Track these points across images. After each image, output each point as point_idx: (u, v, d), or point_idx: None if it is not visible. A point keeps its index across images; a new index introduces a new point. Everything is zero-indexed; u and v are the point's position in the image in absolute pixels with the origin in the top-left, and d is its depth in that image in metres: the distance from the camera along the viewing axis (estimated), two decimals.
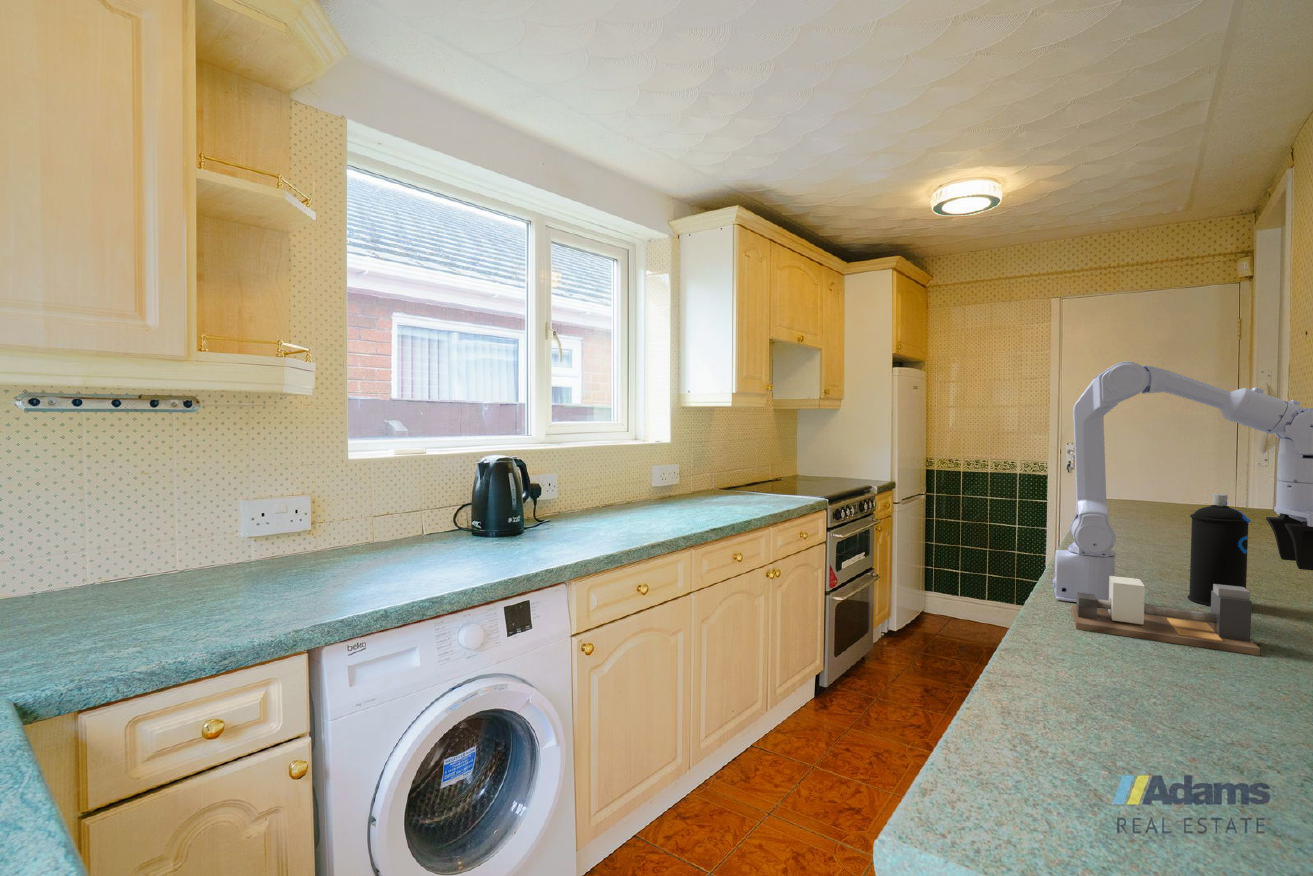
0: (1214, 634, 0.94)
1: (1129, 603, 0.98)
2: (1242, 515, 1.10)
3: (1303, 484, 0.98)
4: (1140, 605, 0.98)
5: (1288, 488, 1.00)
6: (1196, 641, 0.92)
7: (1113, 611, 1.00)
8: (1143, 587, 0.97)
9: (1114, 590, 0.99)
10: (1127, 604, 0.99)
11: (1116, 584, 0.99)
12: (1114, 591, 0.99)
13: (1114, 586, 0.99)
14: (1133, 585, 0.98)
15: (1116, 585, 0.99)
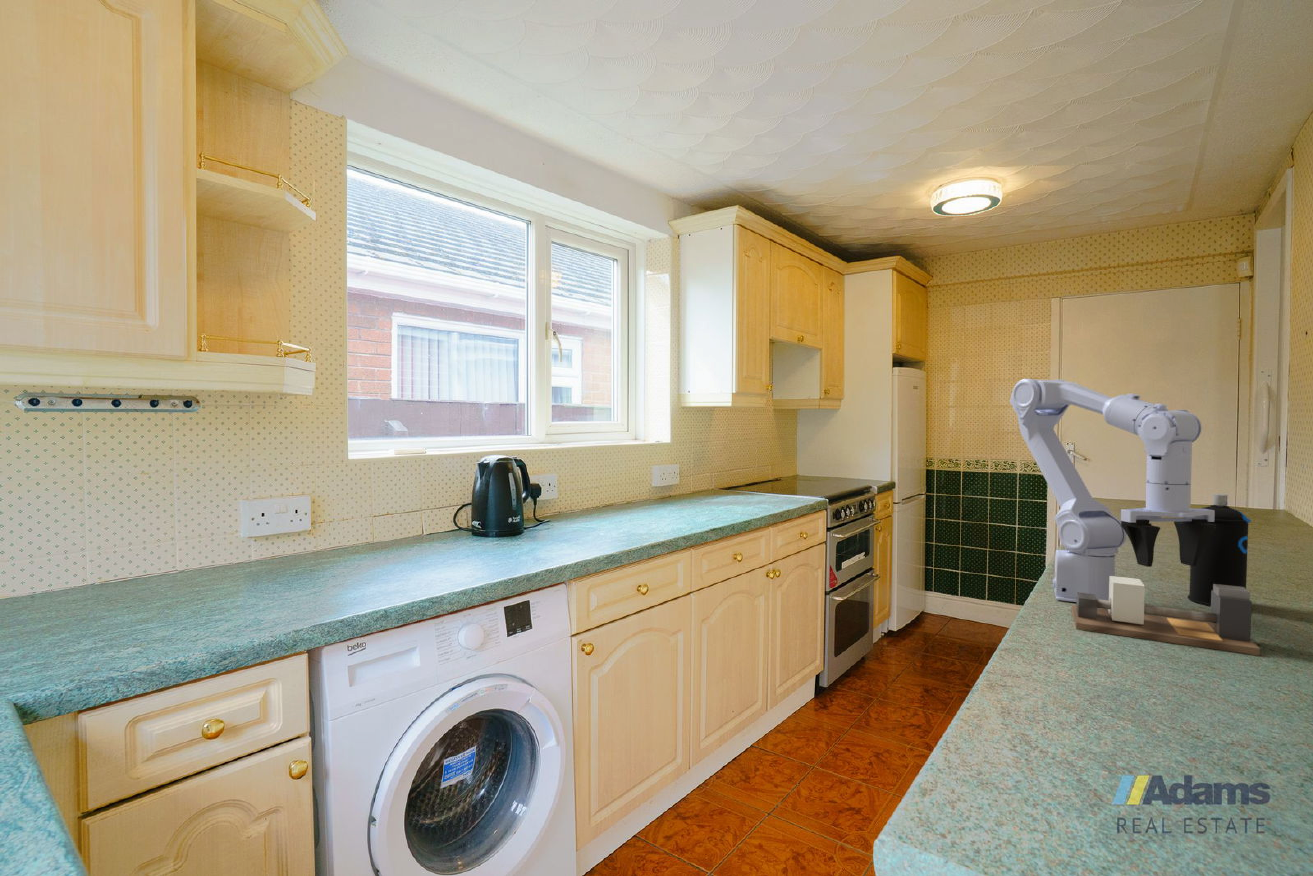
0: (1214, 634, 0.94)
1: (1129, 603, 0.98)
2: (1242, 515, 1.10)
3: (1149, 484, 1.02)
4: (1140, 605, 0.98)
5: (1146, 488, 1.04)
6: (1196, 641, 0.92)
7: (1113, 611, 1.00)
8: (1143, 587, 0.97)
9: (1114, 590, 0.99)
10: (1127, 604, 0.99)
11: (1116, 584, 0.99)
12: (1114, 591, 0.99)
13: (1114, 586, 0.99)
14: (1133, 585, 0.98)
15: (1116, 585, 0.99)
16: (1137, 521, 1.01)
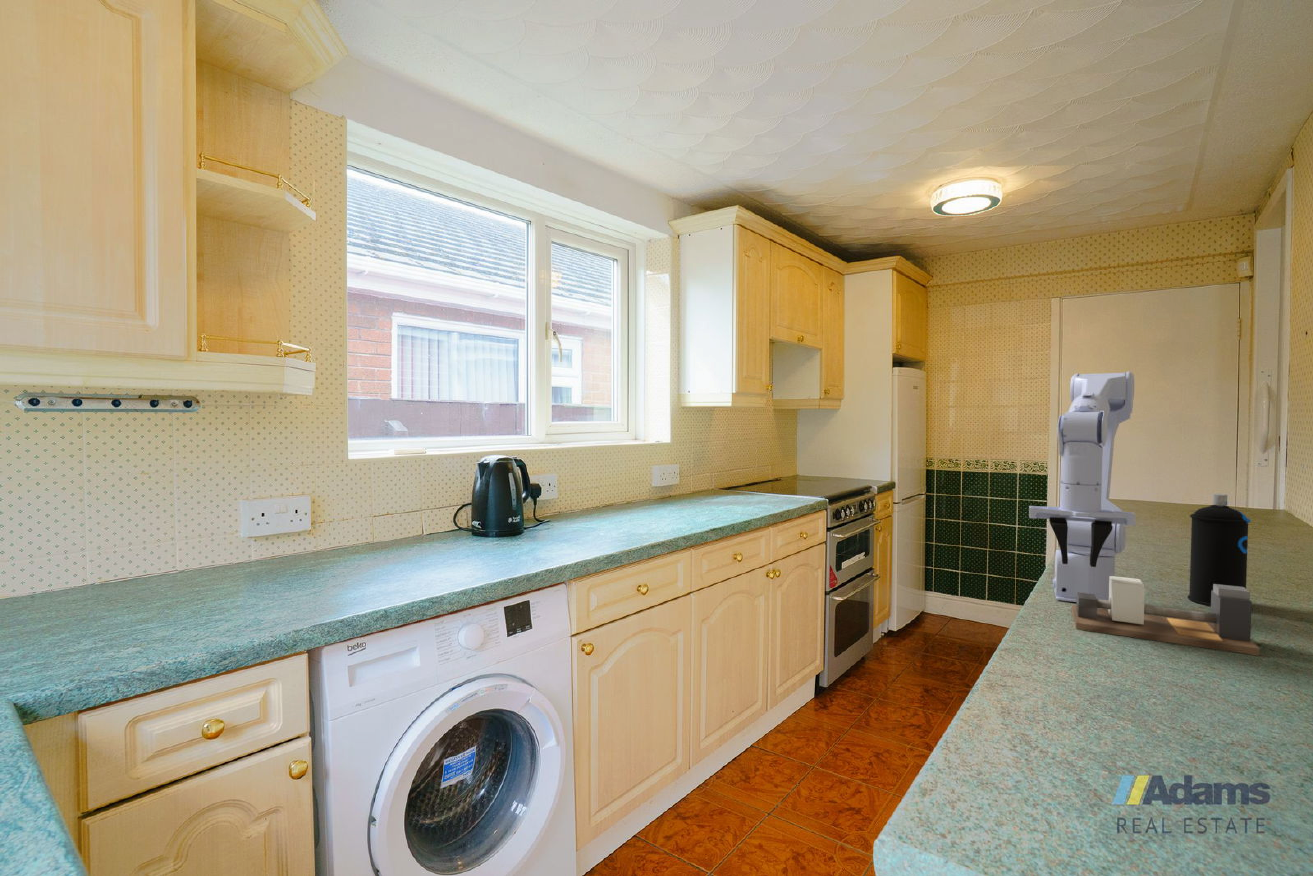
0: (1214, 634, 0.94)
1: (1129, 603, 0.98)
2: (1242, 515, 1.10)
3: None
4: (1140, 605, 0.98)
5: None
6: (1196, 641, 0.92)
7: (1113, 611, 1.00)
8: (1143, 587, 0.97)
9: (1114, 590, 0.99)
10: (1127, 604, 0.99)
11: (1116, 584, 0.99)
12: (1114, 591, 0.99)
13: (1114, 586, 0.99)
14: (1133, 585, 0.98)
15: (1116, 585, 0.99)
16: (1051, 518, 1.05)
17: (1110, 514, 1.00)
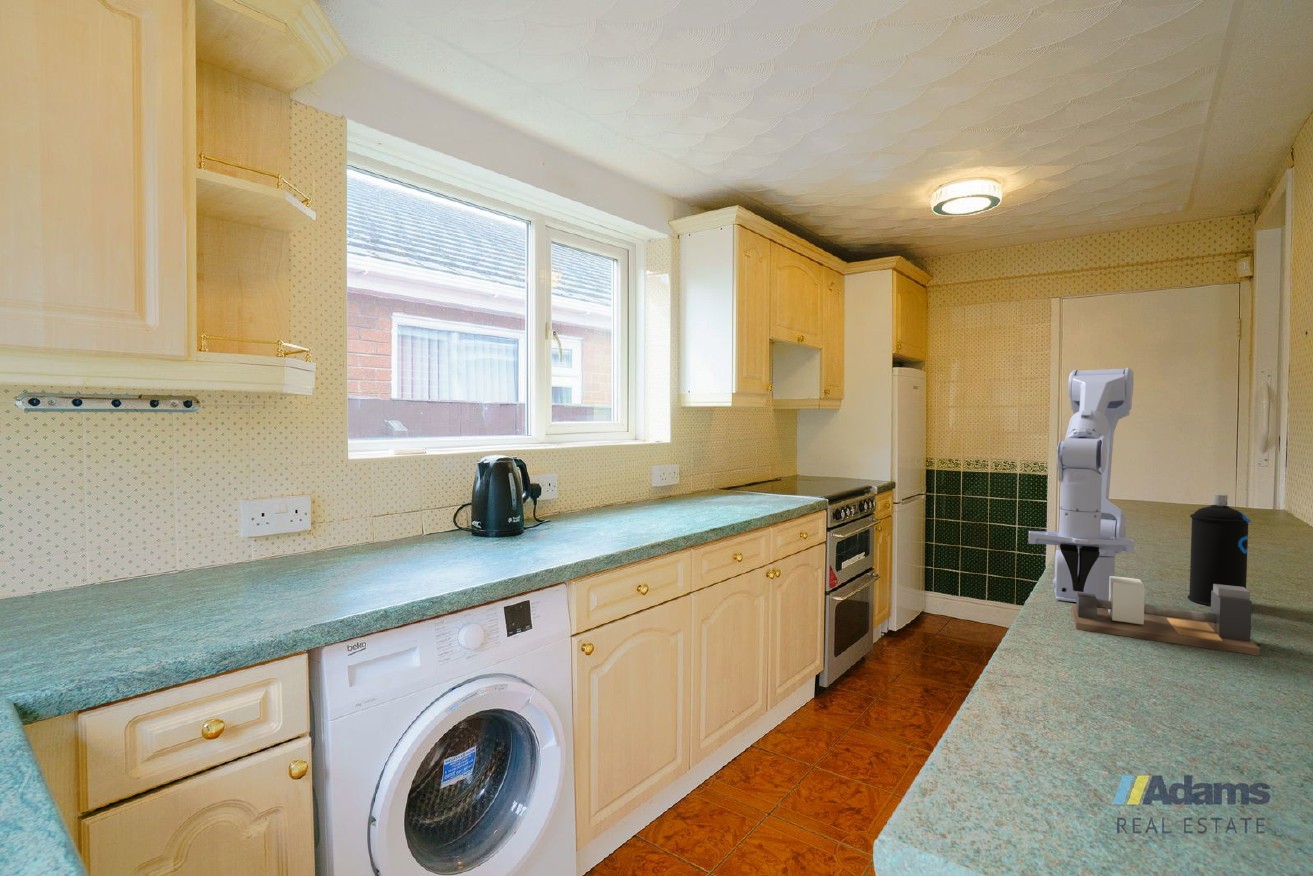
0: (1214, 634, 0.94)
1: (1129, 603, 0.98)
2: (1242, 515, 1.10)
3: (1060, 509, 1.05)
4: (1140, 605, 0.98)
5: None
6: (1196, 641, 0.92)
7: (1113, 611, 1.00)
8: (1143, 587, 0.97)
9: (1114, 590, 0.99)
10: (1127, 604, 0.99)
11: (1116, 584, 0.99)
12: (1114, 591, 0.99)
13: (1114, 586, 0.99)
14: (1133, 585, 0.98)
15: (1116, 585, 0.99)
16: (1062, 545, 1.04)
17: (1109, 541, 1.00)
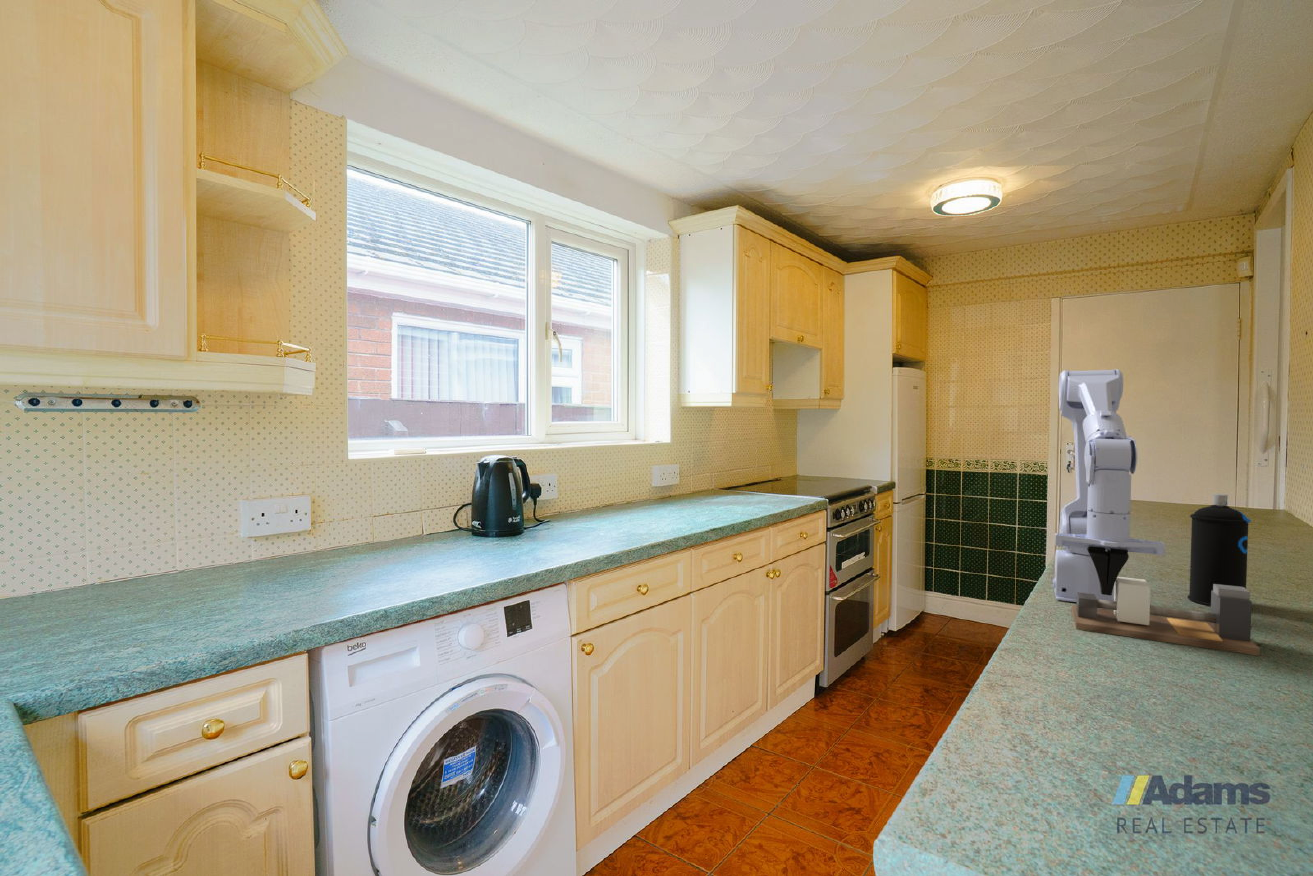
0: (1214, 634, 0.94)
1: (1134, 604, 0.98)
2: (1242, 515, 1.10)
3: (1087, 511, 1.03)
4: (1146, 606, 0.97)
5: None
6: (1196, 641, 0.92)
7: (1118, 612, 0.99)
8: (1149, 588, 0.97)
9: (1119, 591, 0.99)
10: (1132, 605, 0.98)
11: (1121, 585, 0.99)
12: (1119, 592, 0.99)
13: (1119, 587, 0.99)
14: (1138, 586, 0.98)
15: (1121, 586, 0.99)
16: (1090, 548, 1.02)
17: (1139, 544, 0.98)
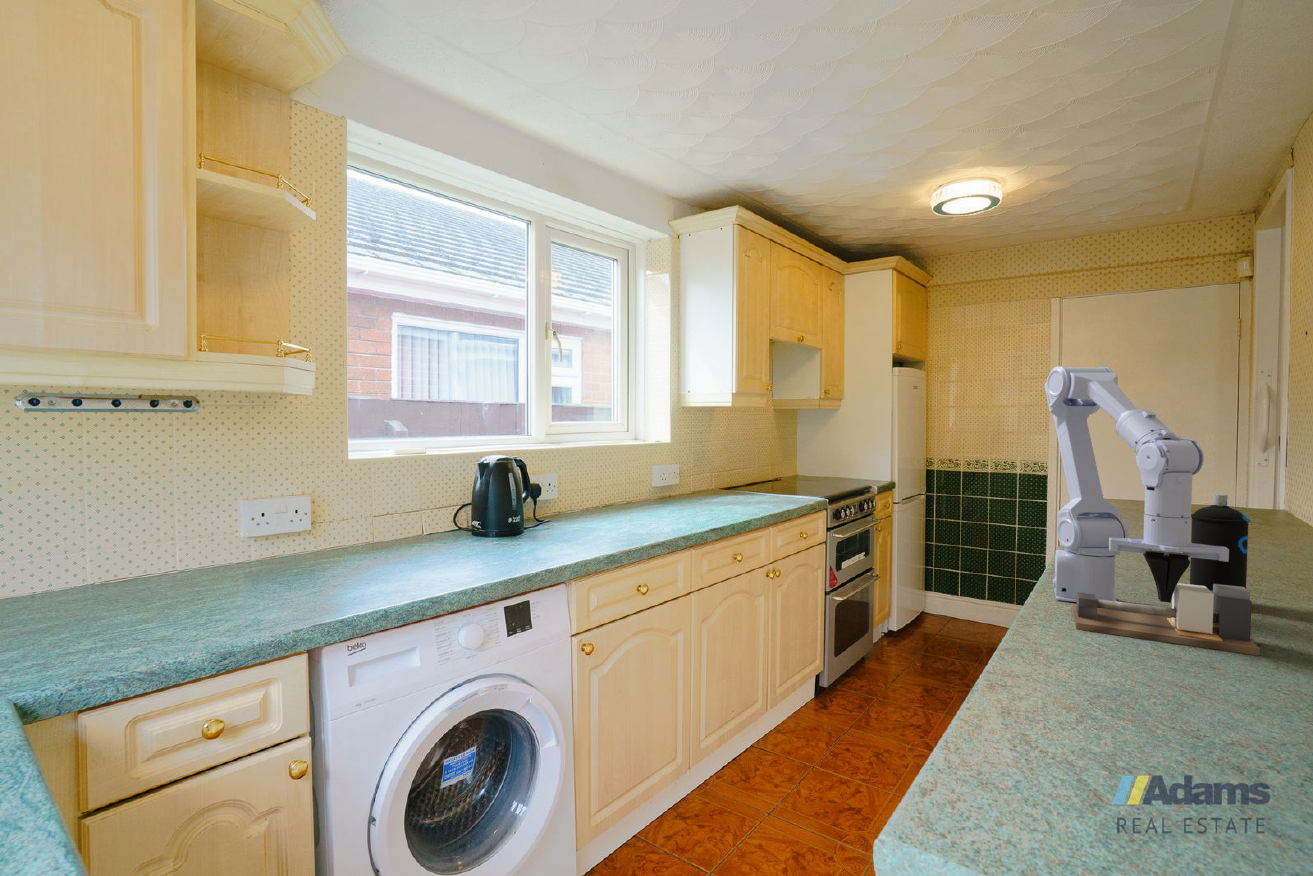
0: (1214, 634, 0.94)
1: (1196, 611, 0.94)
2: (1242, 515, 1.10)
3: (1144, 514, 1.00)
4: (1208, 614, 0.94)
5: None
6: (1196, 641, 0.92)
7: (1179, 620, 0.95)
8: (1212, 595, 0.93)
9: (1180, 598, 0.95)
10: (1194, 612, 0.94)
11: (1182, 591, 0.95)
12: (1180, 599, 0.95)
13: (1180, 594, 0.95)
14: (1201, 593, 0.94)
15: (1182, 593, 0.95)
16: (1147, 553, 0.98)
17: (1201, 549, 0.94)
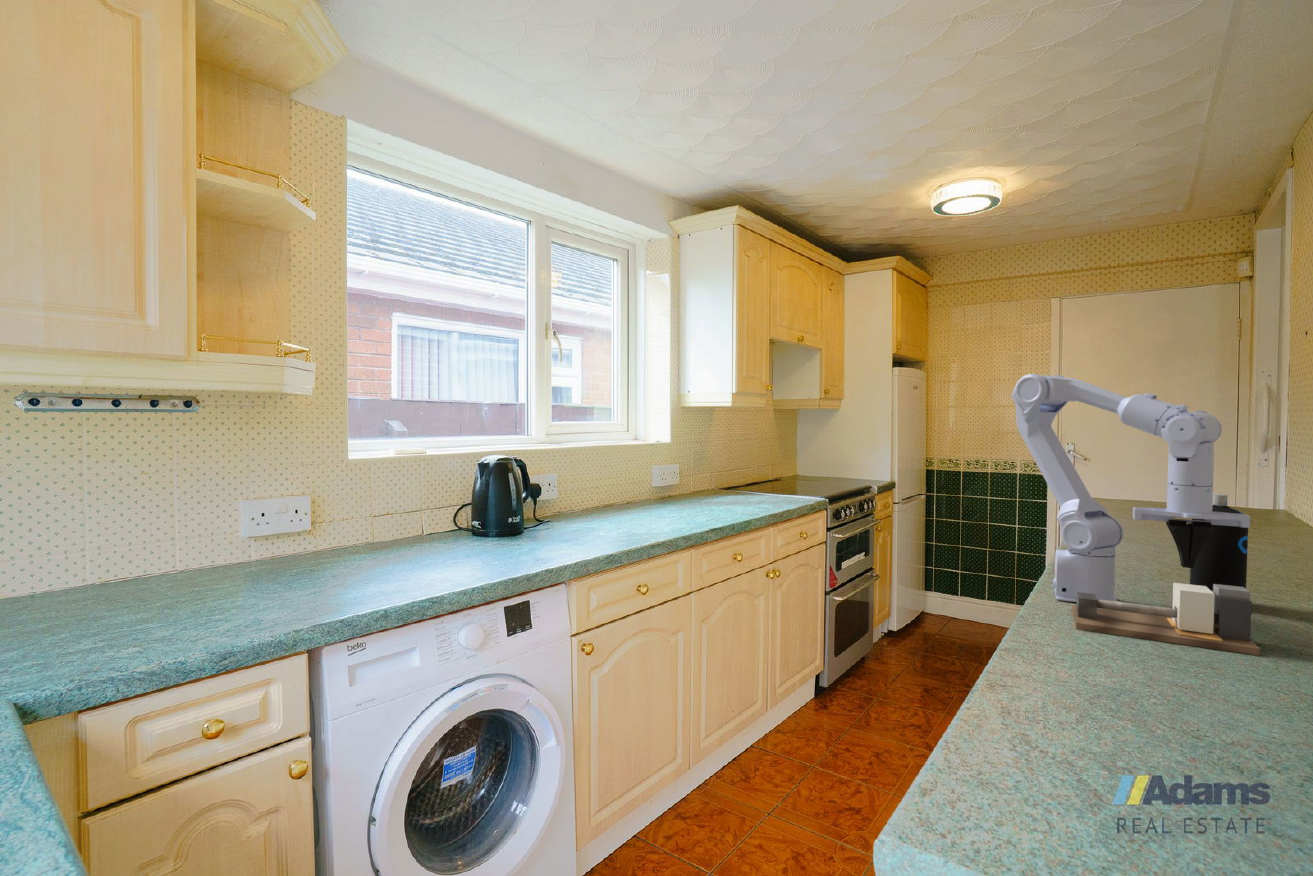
0: (1214, 634, 0.94)
1: (1197, 611, 0.94)
2: None
3: (1167, 484, 1.04)
4: (1209, 614, 0.93)
5: None
6: (1196, 641, 0.92)
7: (1180, 620, 0.95)
8: (1213, 595, 0.93)
9: (1181, 598, 0.95)
10: (1195, 612, 0.94)
11: (1183, 592, 0.95)
12: (1181, 599, 0.95)
13: (1181, 594, 0.95)
14: (1202, 593, 0.94)
15: (1183, 593, 0.95)
16: (1170, 521, 1.02)
17: (1223, 516, 0.98)
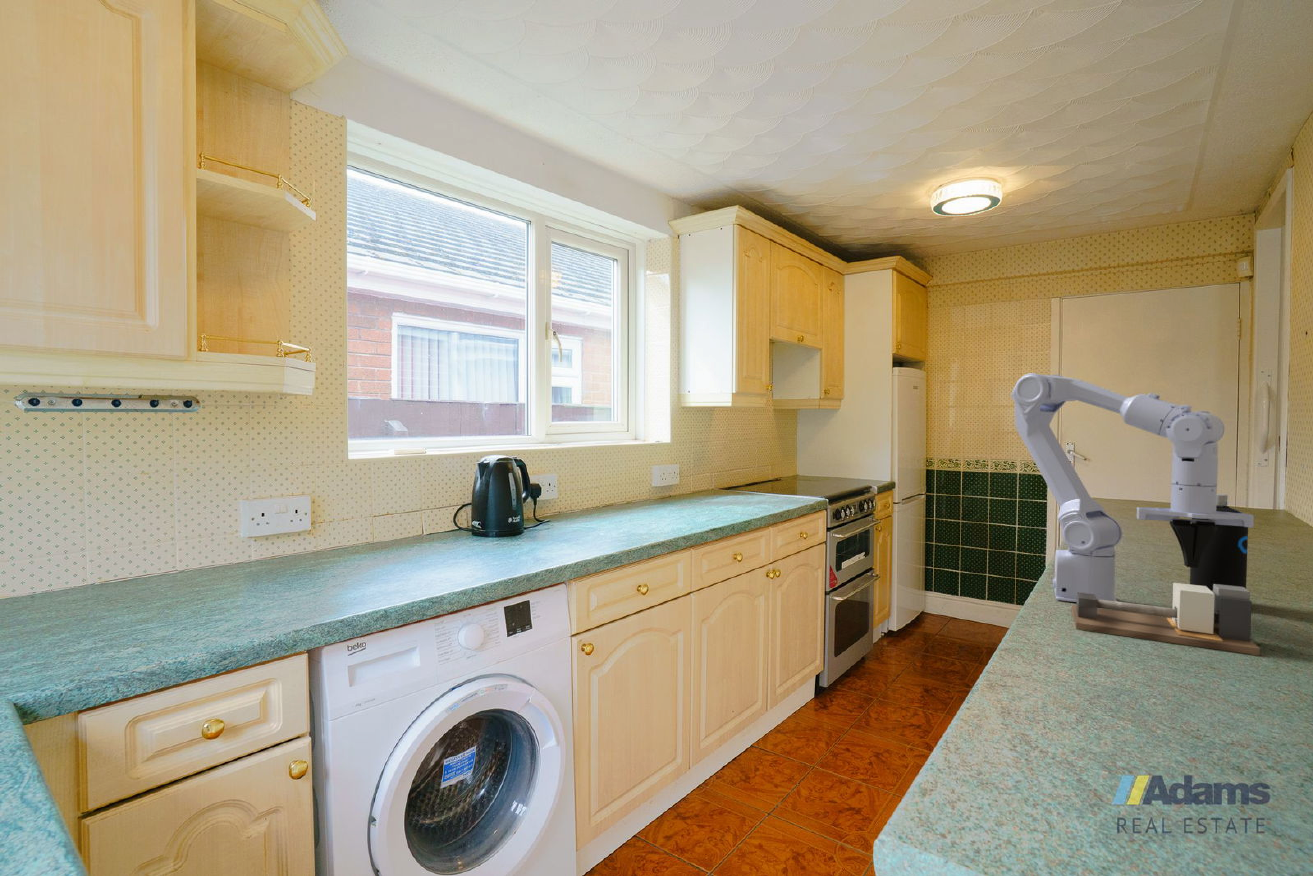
0: (1214, 634, 0.94)
1: (1197, 611, 0.94)
2: None
3: (1171, 484, 1.04)
4: (1209, 614, 0.93)
5: None
6: (1196, 641, 0.92)
7: (1180, 620, 0.95)
8: (1213, 595, 0.93)
9: (1181, 598, 0.95)
10: (1195, 612, 0.94)
11: (1183, 592, 0.95)
12: (1181, 599, 0.95)
13: (1181, 594, 0.95)
14: (1202, 593, 0.94)
15: (1183, 593, 0.95)
16: (1174, 521, 1.03)
17: (1227, 515, 0.99)
